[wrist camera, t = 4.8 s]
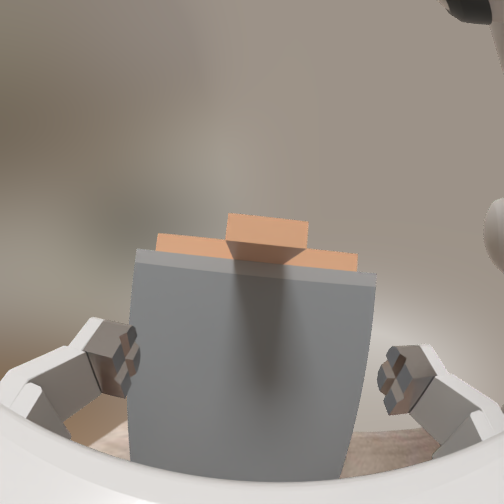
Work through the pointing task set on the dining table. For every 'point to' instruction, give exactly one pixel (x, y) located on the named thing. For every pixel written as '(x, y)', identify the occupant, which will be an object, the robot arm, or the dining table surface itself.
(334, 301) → the crate
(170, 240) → the lid
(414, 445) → the dining table surface
